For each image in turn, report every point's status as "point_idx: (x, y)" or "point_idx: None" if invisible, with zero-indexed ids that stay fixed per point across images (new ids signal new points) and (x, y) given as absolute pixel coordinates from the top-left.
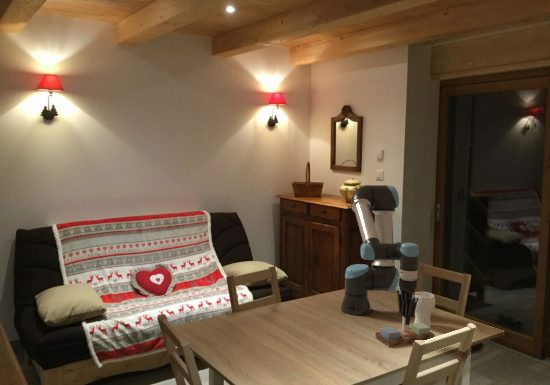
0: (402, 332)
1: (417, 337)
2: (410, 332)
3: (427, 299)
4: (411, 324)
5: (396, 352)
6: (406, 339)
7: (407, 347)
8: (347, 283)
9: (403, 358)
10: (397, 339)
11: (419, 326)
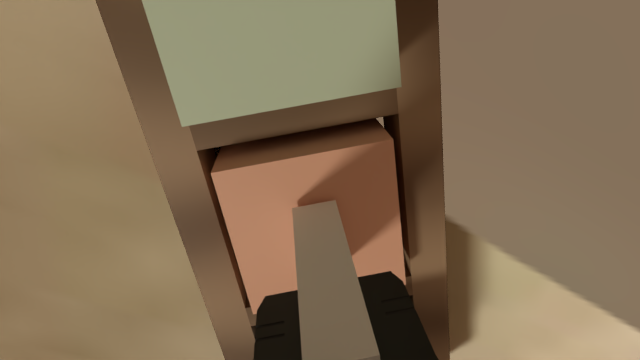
0: None
1: (440, 125)
2: (370, 193)
3: None
4: (197, 120)
5: (530, 343)
6: (442, 253)
7: (486, 242)
8: None
9: (625, 332)
10: (440, 339)
11: (296, 19)
